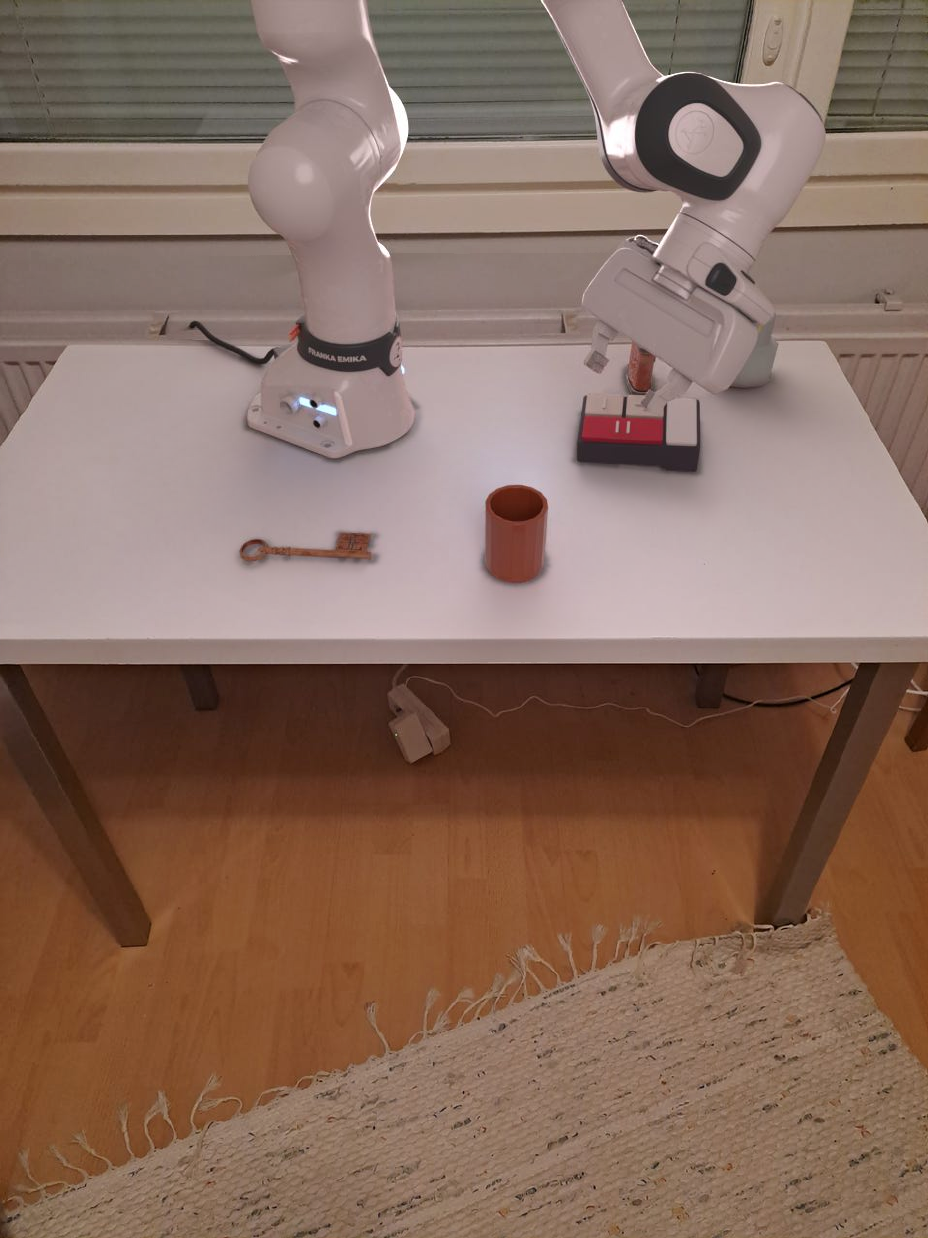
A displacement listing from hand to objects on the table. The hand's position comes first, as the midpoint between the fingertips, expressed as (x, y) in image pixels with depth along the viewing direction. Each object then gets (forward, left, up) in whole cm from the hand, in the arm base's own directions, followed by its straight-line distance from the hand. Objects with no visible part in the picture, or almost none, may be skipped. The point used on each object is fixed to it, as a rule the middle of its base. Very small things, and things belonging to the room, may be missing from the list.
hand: (618, 389), depth 94 cm
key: (-31, -16, -18) cm, 39 cm away
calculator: (0, +17, -18) cm, 25 cm away
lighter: (-3, +31, -18) cm, 36 cm away
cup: (-8, -10, -18) cm, 22 cm away
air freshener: (+10, +37, -18) cm, 43 cm away
